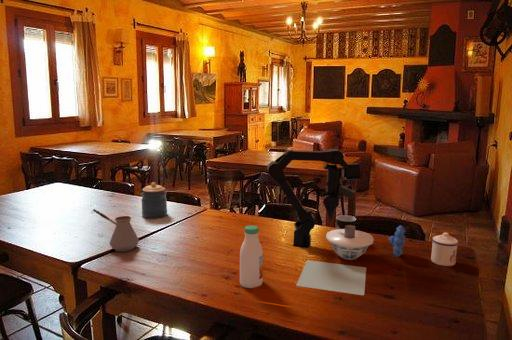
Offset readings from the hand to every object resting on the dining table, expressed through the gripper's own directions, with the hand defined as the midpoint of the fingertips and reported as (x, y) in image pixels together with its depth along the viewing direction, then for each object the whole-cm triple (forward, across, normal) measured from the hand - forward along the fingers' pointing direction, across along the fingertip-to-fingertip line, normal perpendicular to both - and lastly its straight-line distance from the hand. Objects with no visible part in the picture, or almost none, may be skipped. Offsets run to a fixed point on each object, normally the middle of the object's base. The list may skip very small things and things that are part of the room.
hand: (332, 216), depth 171 cm
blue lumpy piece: (+13, -2, -26) cm, 29 cm away
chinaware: (+13, -11, -8) cm, 19 cm away
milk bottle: (+13, -44, +22) cm, 51 cm away
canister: (+13, +15, +93) cm, 95 cm away
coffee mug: (+13, +10, -5) cm, 17 cm away
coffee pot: (+13, -29, +86) cm, 92 cm away
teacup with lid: (+13, -2, -44) cm, 46 cm away
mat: (+13, -31, -4) cm, 34 cm away
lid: (+5, -11, -8) cm, 14 cm away
